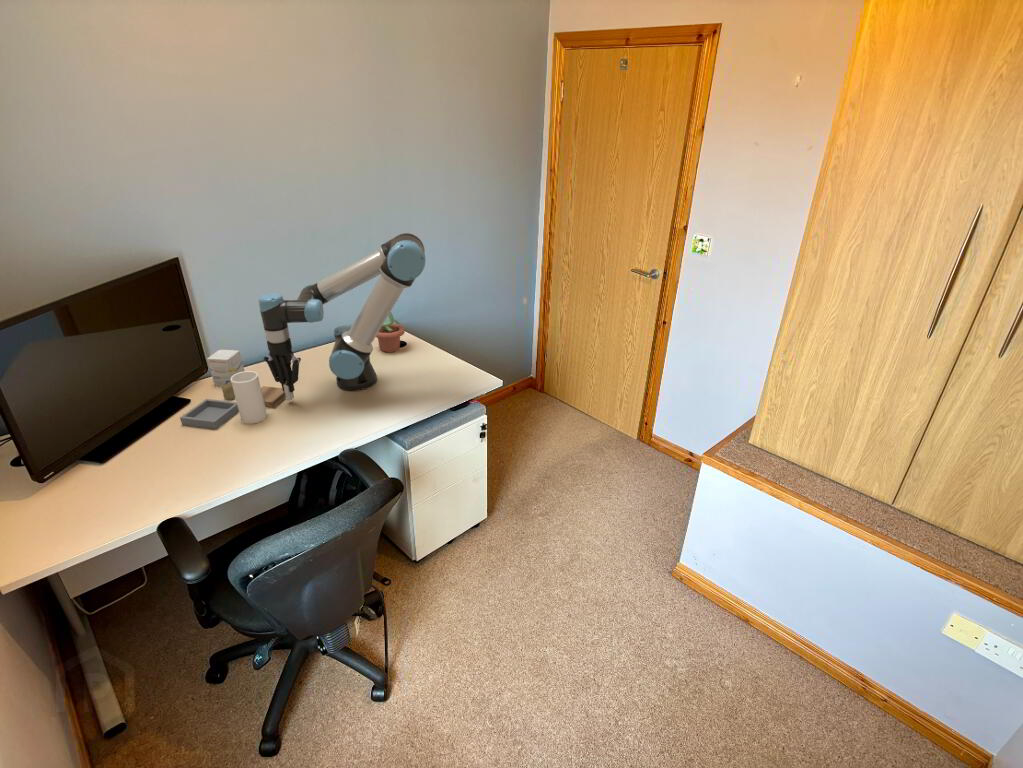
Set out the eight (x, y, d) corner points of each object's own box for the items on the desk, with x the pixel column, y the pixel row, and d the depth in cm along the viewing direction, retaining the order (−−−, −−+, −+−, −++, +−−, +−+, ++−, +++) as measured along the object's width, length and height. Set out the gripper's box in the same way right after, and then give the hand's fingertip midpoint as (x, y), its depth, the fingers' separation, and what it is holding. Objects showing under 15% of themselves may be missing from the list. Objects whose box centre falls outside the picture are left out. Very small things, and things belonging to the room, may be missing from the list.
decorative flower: (414, 346, 241) (409, 281, 227) (396, 358, 230) (389, 290, 216) (386, 340, 246) (379, 276, 232) (367, 351, 235) (359, 285, 221)
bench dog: (242, 392, 202) (239, 380, 199) (232, 400, 197) (228, 388, 194) (235, 391, 202) (232, 379, 200) (224, 399, 197) (221, 387, 195)
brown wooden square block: (289, 395, 201) (288, 388, 199) (274, 409, 192) (272, 402, 191) (265, 393, 202) (263, 386, 201) (248, 406, 194) (247, 399, 192)
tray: (241, 410, 191) (239, 402, 189) (216, 429, 179) (214, 422, 178) (208, 406, 193) (206, 398, 191) (182, 425, 182) (179, 417, 180)
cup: (272, 413, 189) (263, 373, 181) (255, 425, 182) (244, 384, 174) (253, 409, 191) (243, 369, 183) (235, 421, 184) (224, 379, 177)
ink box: (246, 376, 213) (240, 350, 207) (235, 387, 206) (227, 359, 200) (226, 375, 214) (219, 348, 208) (213, 385, 206) (205, 358, 201)
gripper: (301, 336, 186) (312, 396, 197) (267, 333, 188) (279, 392, 199) (289, 345, 180) (301, 406, 191) (254, 341, 182) (268, 402, 193)
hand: (290, 399), depth 195 cm, fingers closed
